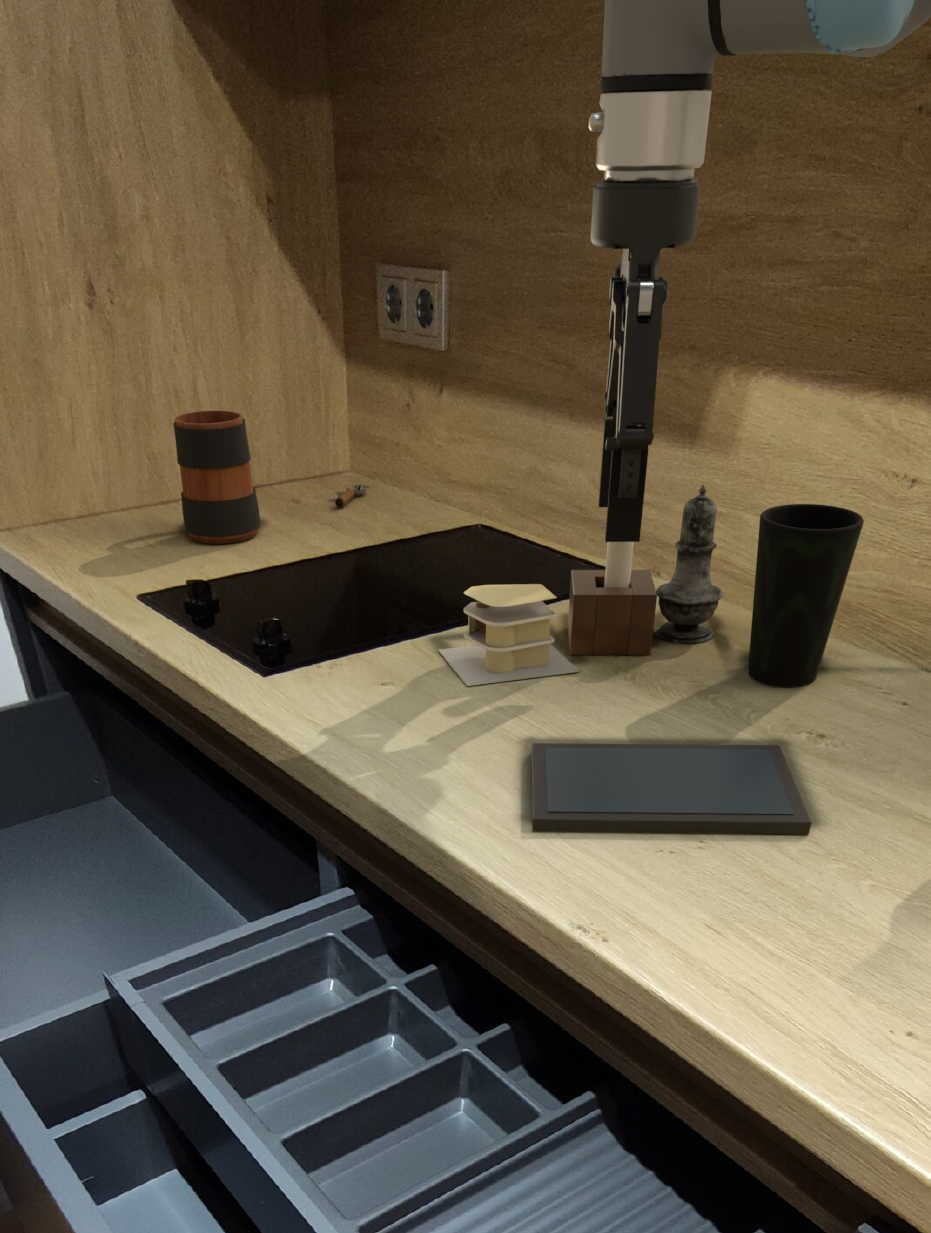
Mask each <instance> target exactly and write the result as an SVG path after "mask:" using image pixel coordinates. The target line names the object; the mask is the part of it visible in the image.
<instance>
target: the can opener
mask: <svg viewBox="0 0 931 1233" xmlns="http://www.w3.org/2000/svg"><path fill="white" fill-rule="evenodd" d="M361 485H362V484H360V483H355V485H354V487H353V488H350V487H347V488H345V490H346V491H345V492H343V493H341V494H340V495H339V496H337V498H336V499H335V500H334V502H335V506H336V507H337V508H342V507H344V506H346V505H347V504H348V503H349V502H350V500H352V499H353V498H354V497H355V496H356V494H364V493H366V492H367V491H368V489H367V487H366V486H364V487H362V486H361ZM361 488H362V489H361Z"/></svg>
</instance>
